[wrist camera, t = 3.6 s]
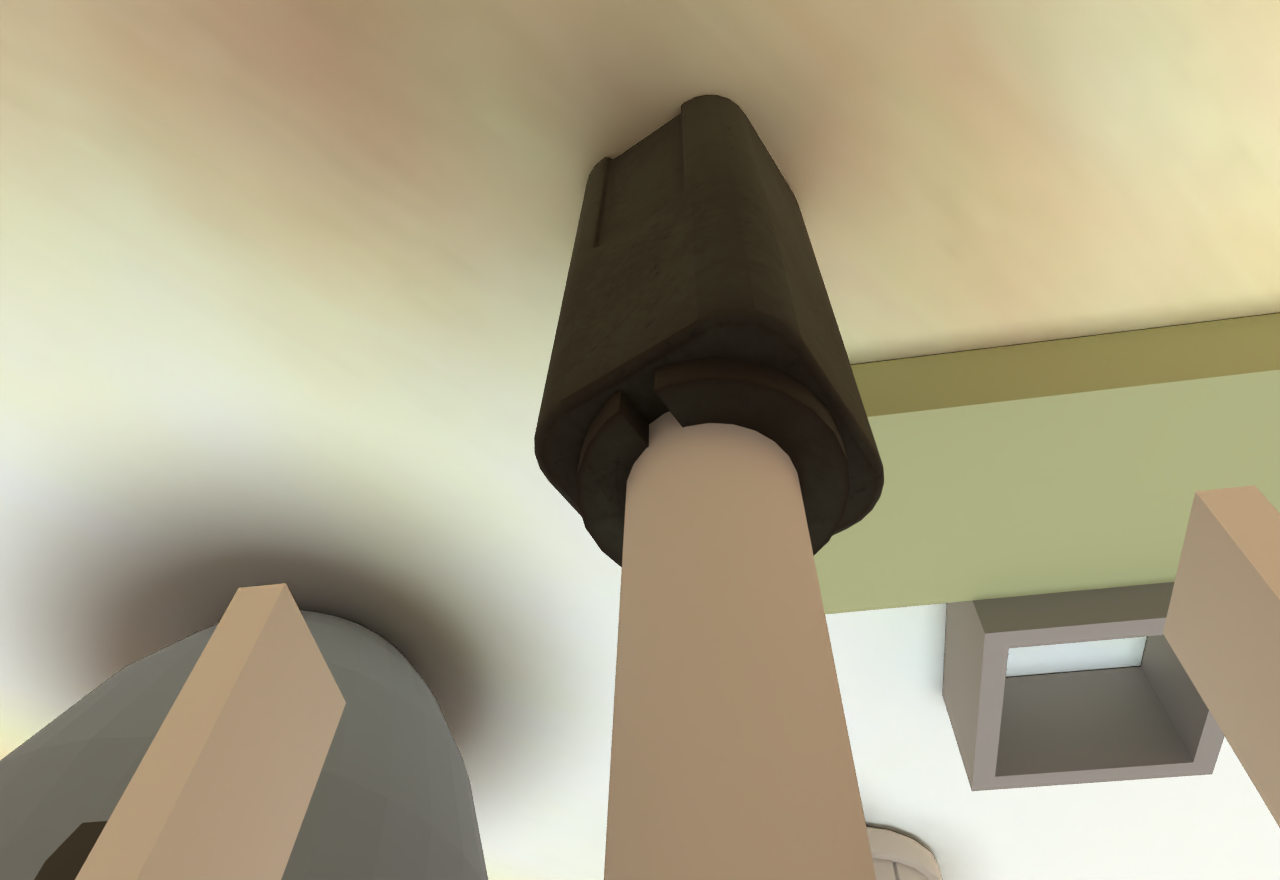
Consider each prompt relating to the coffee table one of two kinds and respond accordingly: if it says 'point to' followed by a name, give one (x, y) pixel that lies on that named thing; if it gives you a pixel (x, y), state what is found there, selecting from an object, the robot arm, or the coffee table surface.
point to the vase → (343, 796)
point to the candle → (713, 504)
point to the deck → (1060, 531)
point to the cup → (900, 857)
